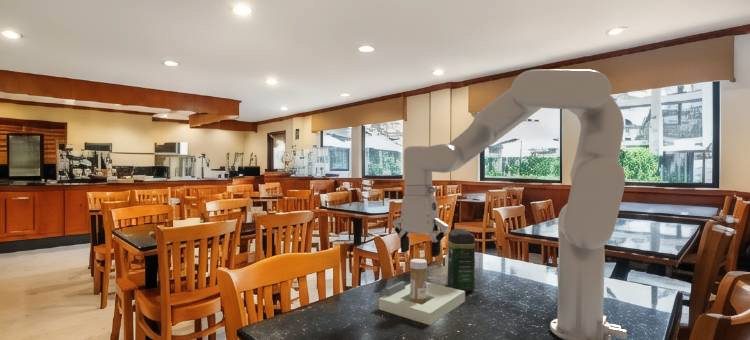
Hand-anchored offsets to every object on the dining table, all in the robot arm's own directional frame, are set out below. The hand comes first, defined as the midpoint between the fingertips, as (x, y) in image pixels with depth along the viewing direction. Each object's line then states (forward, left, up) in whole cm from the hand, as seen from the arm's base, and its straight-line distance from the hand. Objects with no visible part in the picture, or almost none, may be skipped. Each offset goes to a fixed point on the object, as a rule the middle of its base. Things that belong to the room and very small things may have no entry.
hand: (419, 253), depth 104 cm
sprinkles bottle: (0, 0, -16) cm, 16 cm away
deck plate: (+1, -3, -15) cm, 16 cm away
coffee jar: (-1, -23, -16) cm, 28 cm away
